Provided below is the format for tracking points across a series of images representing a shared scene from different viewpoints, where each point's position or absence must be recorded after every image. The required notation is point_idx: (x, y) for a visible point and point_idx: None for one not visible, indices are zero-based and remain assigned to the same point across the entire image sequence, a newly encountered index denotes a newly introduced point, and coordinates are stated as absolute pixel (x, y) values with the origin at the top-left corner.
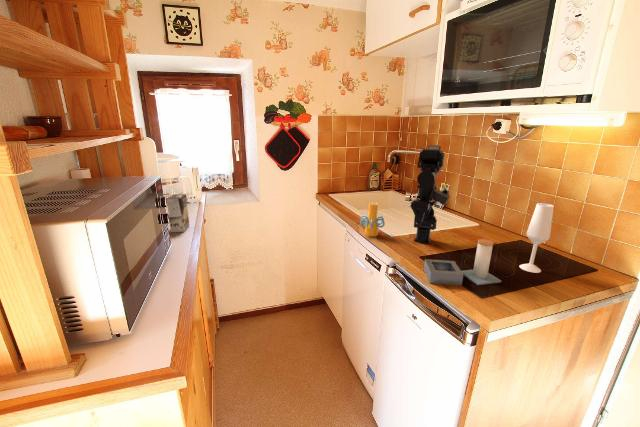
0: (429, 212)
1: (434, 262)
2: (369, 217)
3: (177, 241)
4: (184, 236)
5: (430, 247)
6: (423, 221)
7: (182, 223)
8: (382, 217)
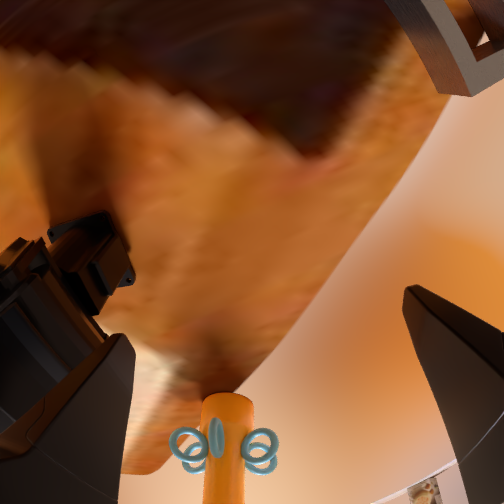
0: (5, 362)
1: (468, 47)
2: (244, 472)
3: None
4: (443, 469)
5: (136, 177)
6: (79, 331)
7: (432, 487)
8: (177, 452)
